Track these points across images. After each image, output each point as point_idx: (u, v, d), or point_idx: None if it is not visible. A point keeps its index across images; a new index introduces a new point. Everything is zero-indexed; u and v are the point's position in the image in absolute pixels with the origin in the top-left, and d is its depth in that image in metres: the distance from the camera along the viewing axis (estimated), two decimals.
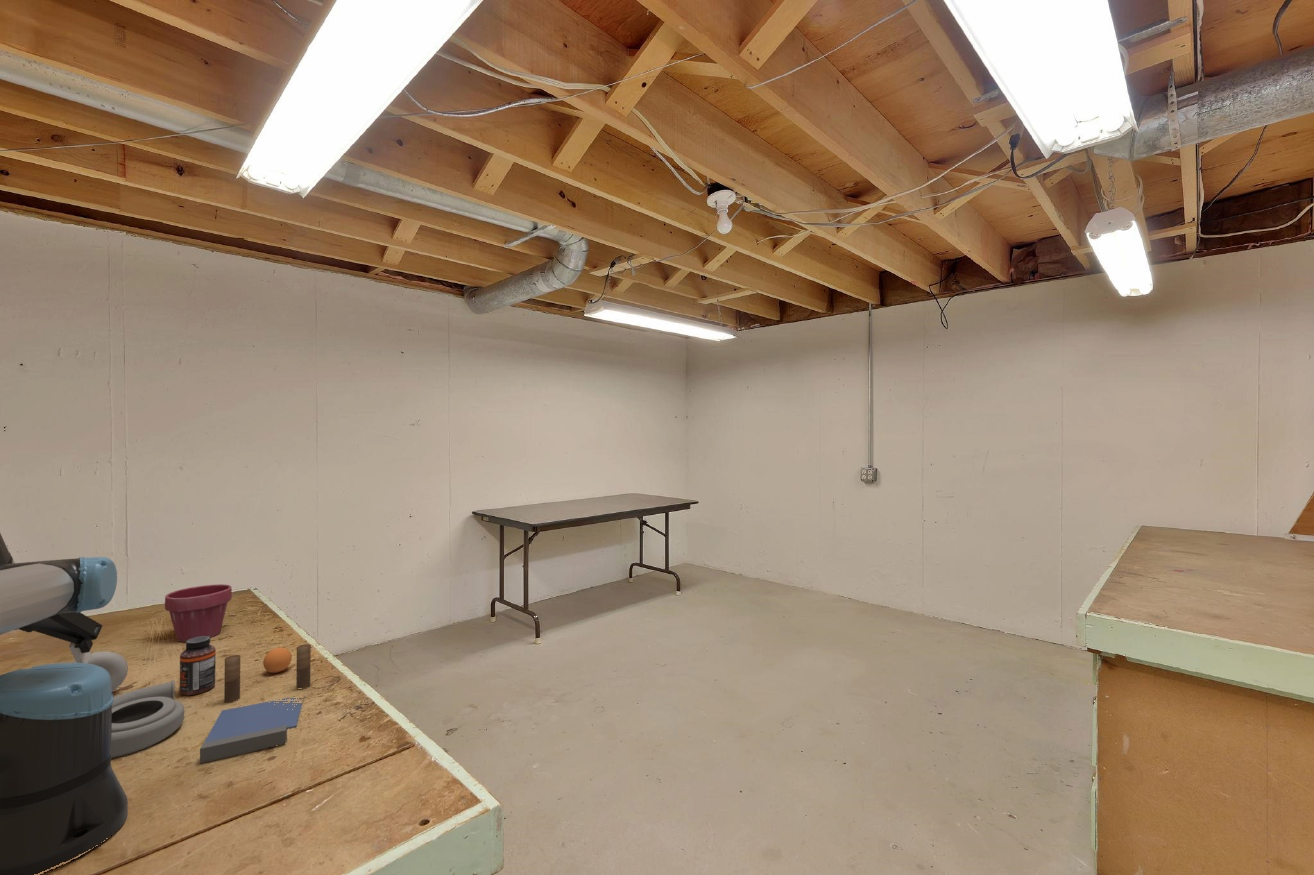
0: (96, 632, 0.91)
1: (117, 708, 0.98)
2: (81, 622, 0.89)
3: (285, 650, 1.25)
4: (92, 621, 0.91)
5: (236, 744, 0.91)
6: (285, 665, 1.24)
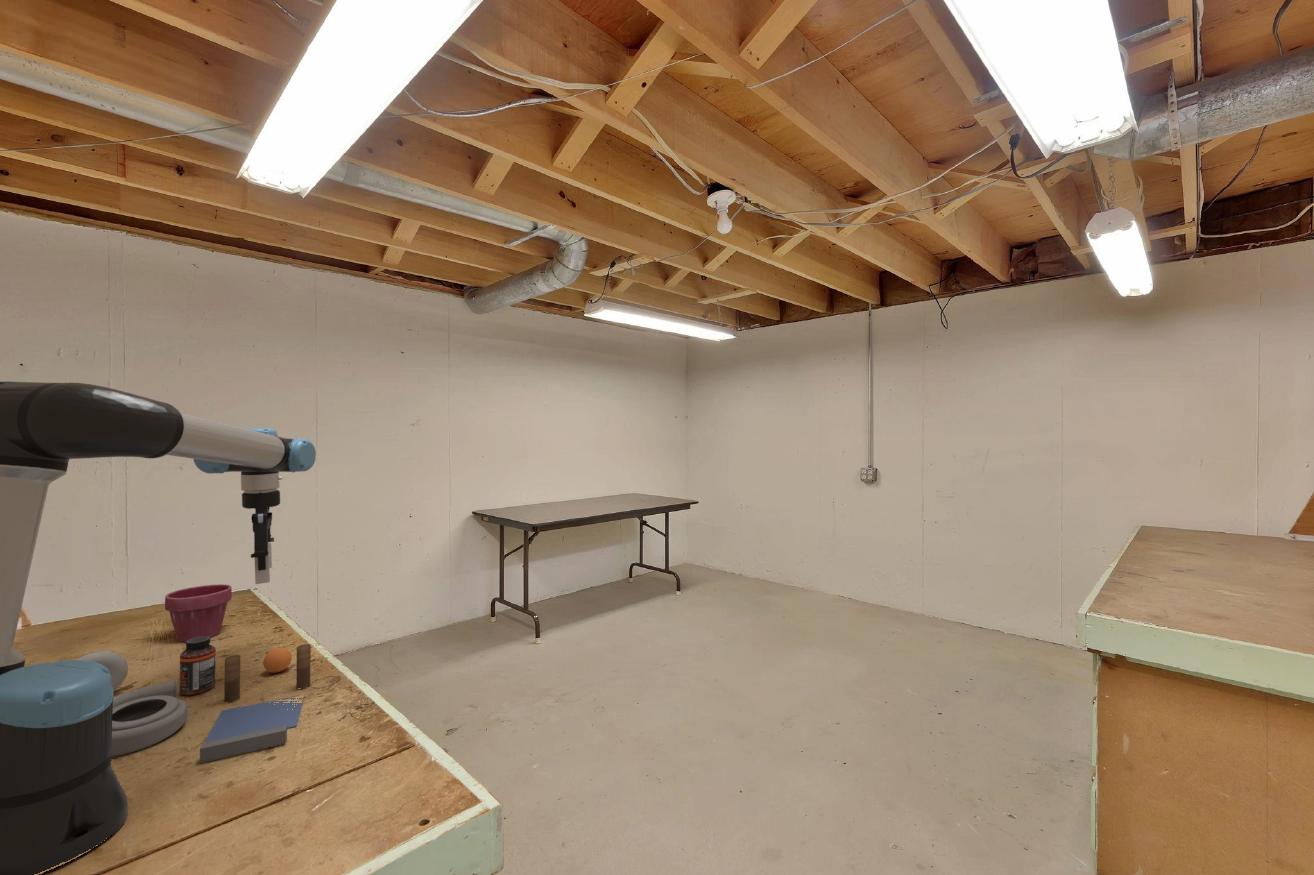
0: (258, 551, 1.21)
1: (120, 707, 0.98)
2: (259, 538, 1.22)
3: (285, 650, 1.25)
4: (265, 544, 1.22)
5: (236, 744, 0.91)
6: (285, 665, 1.24)
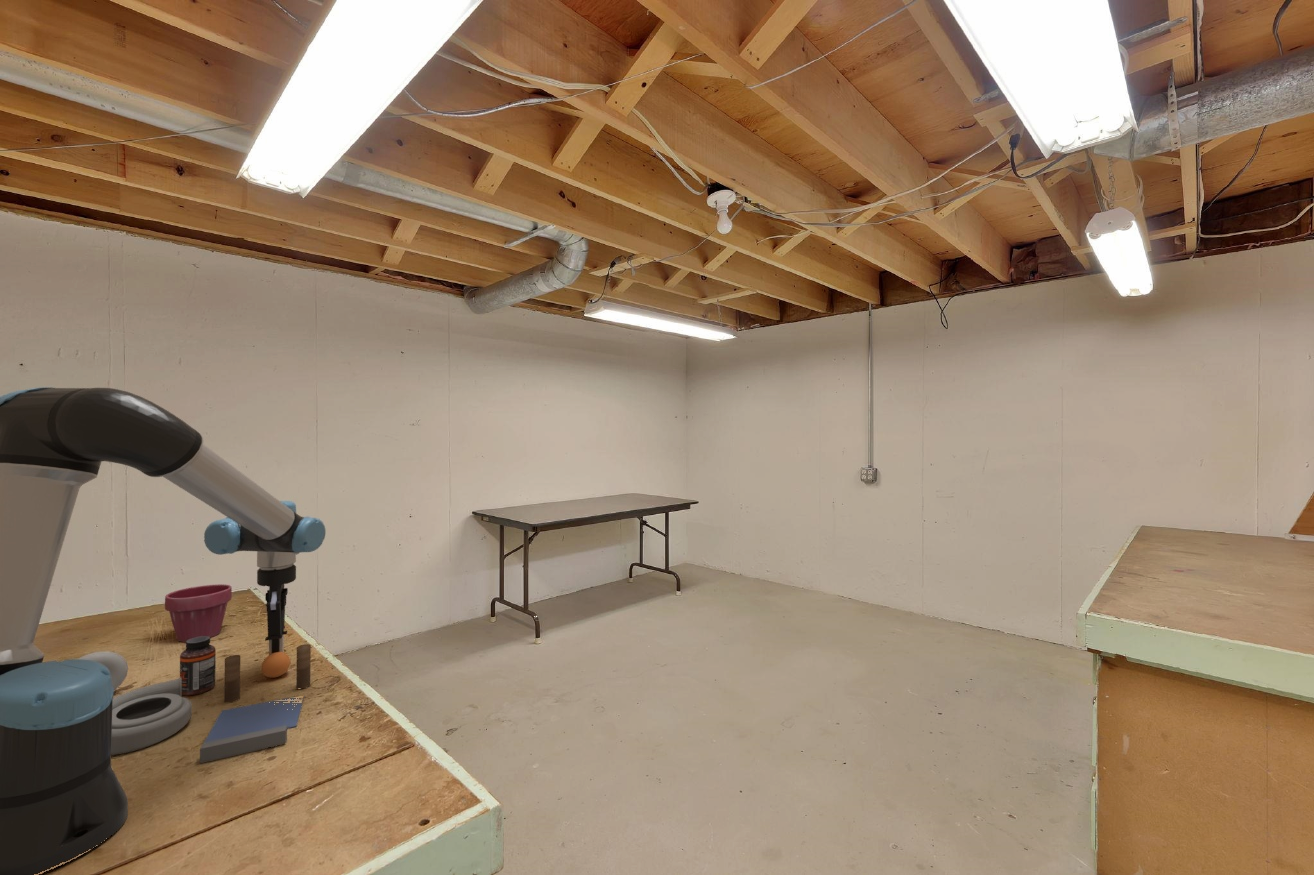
0: (271, 635, 1.21)
1: (125, 705, 0.99)
2: (272, 625, 1.21)
3: (283, 659, 1.21)
4: (278, 630, 1.22)
5: (236, 744, 0.91)
6: (284, 672, 1.22)
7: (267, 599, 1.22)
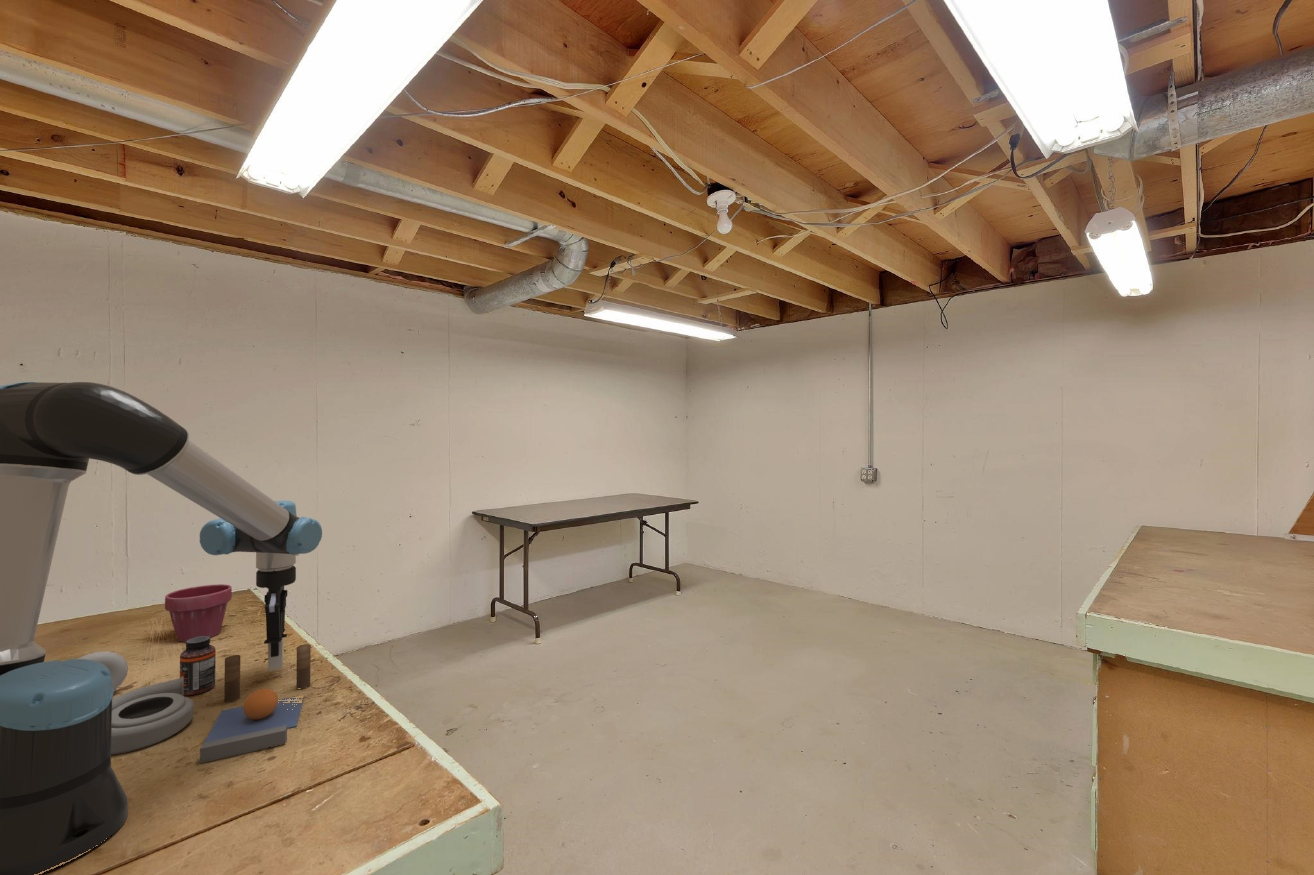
0: (270, 638, 1.19)
1: (128, 704, 0.99)
2: (271, 627, 1.18)
3: (268, 710, 1.03)
4: (277, 633, 1.19)
5: (236, 744, 0.91)
6: None
7: (266, 601, 1.20)
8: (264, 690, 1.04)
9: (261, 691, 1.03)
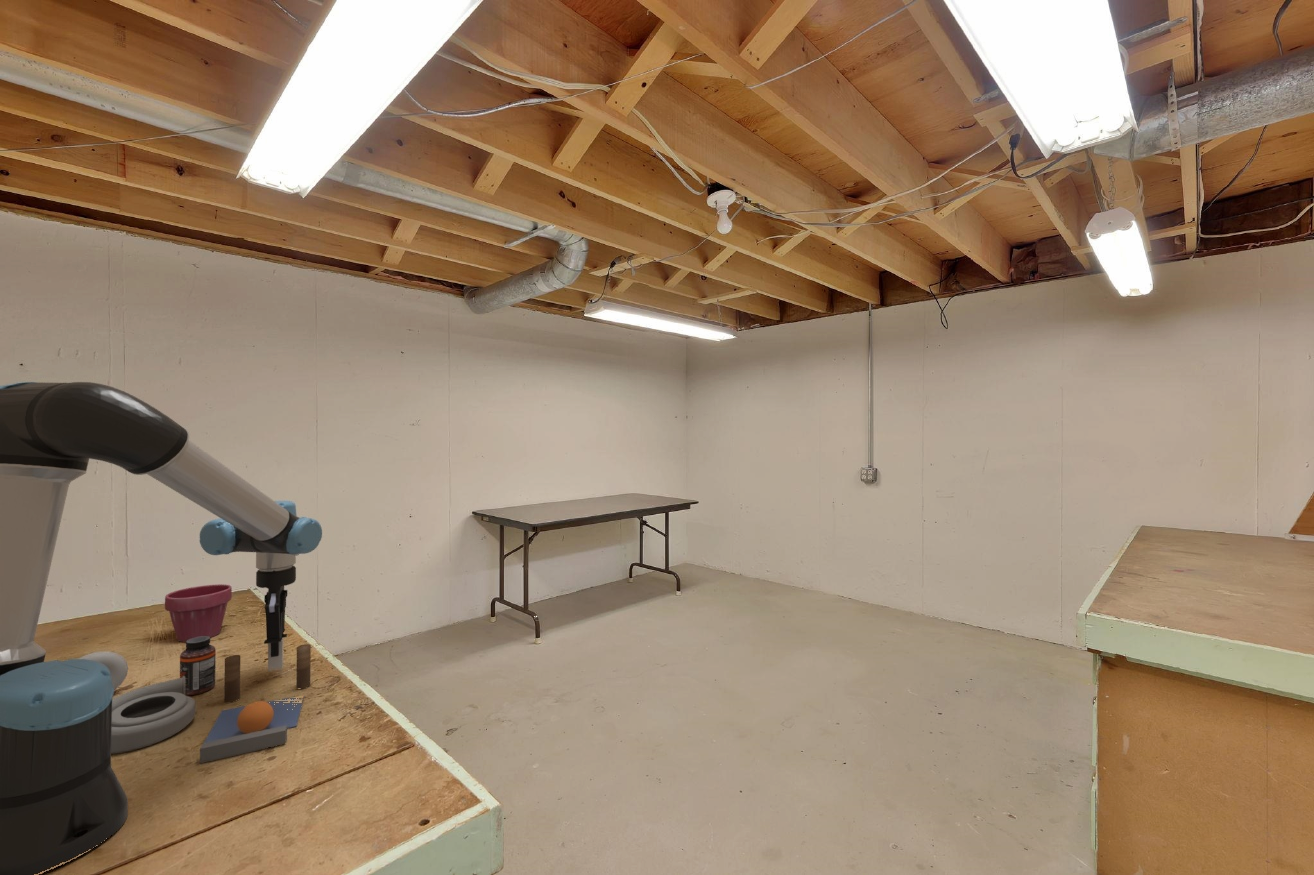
0: (270, 638, 1.19)
1: (130, 703, 1.00)
2: (271, 627, 1.18)
3: None
4: (277, 633, 1.19)
5: (236, 744, 0.91)
6: None
7: (266, 601, 1.20)
8: (257, 729, 0.97)
9: (254, 731, 0.97)
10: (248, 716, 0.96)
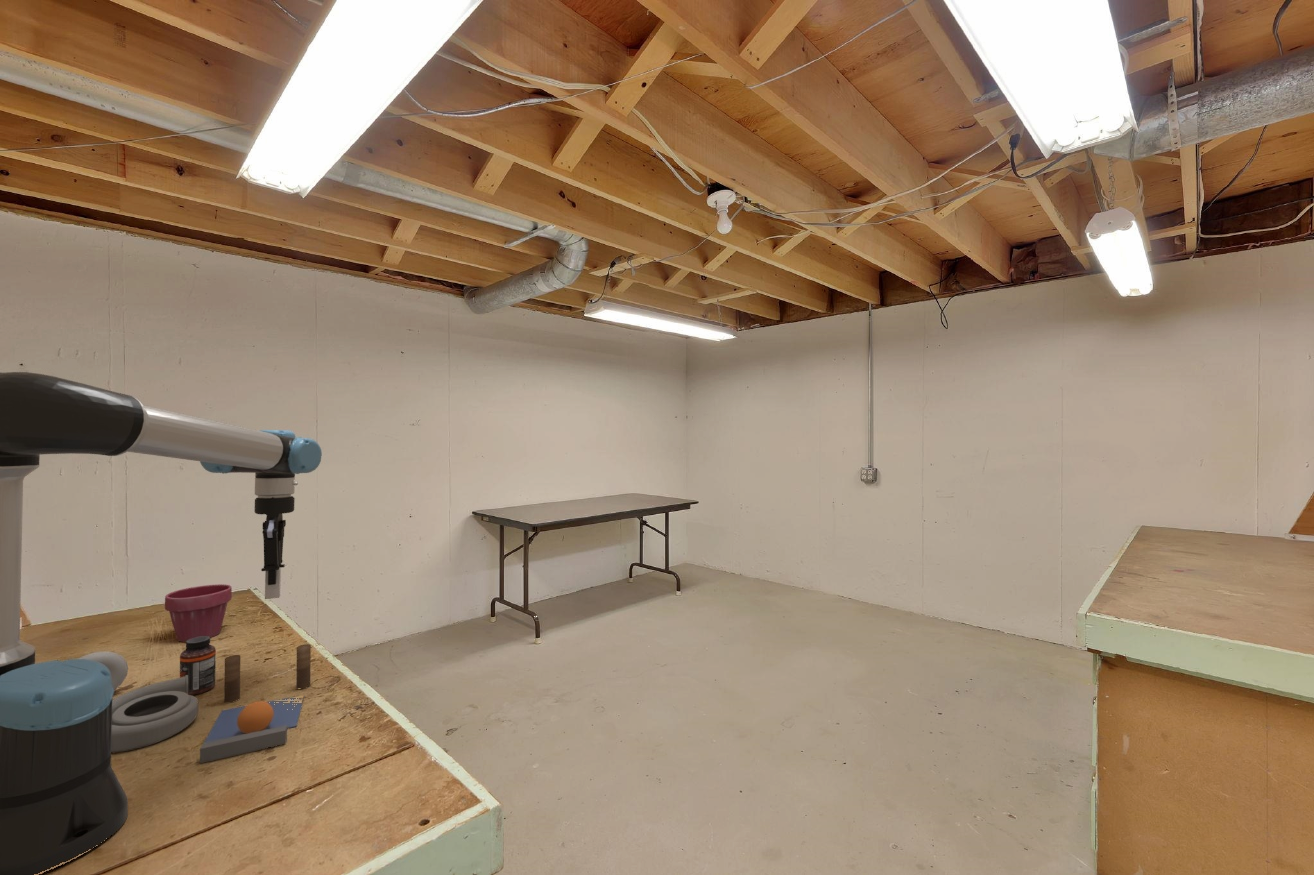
0: (268, 565, 1.18)
1: (133, 702, 1.00)
2: (268, 554, 1.18)
3: None
4: (275, 559, 1.18)
5: (236, 744, 0.91)
6: None
7: (264, 528, 1.19)
8: (257, 729, 0.97)
9: (254, 731, 0.97)
10: (248, 716, 0.96)
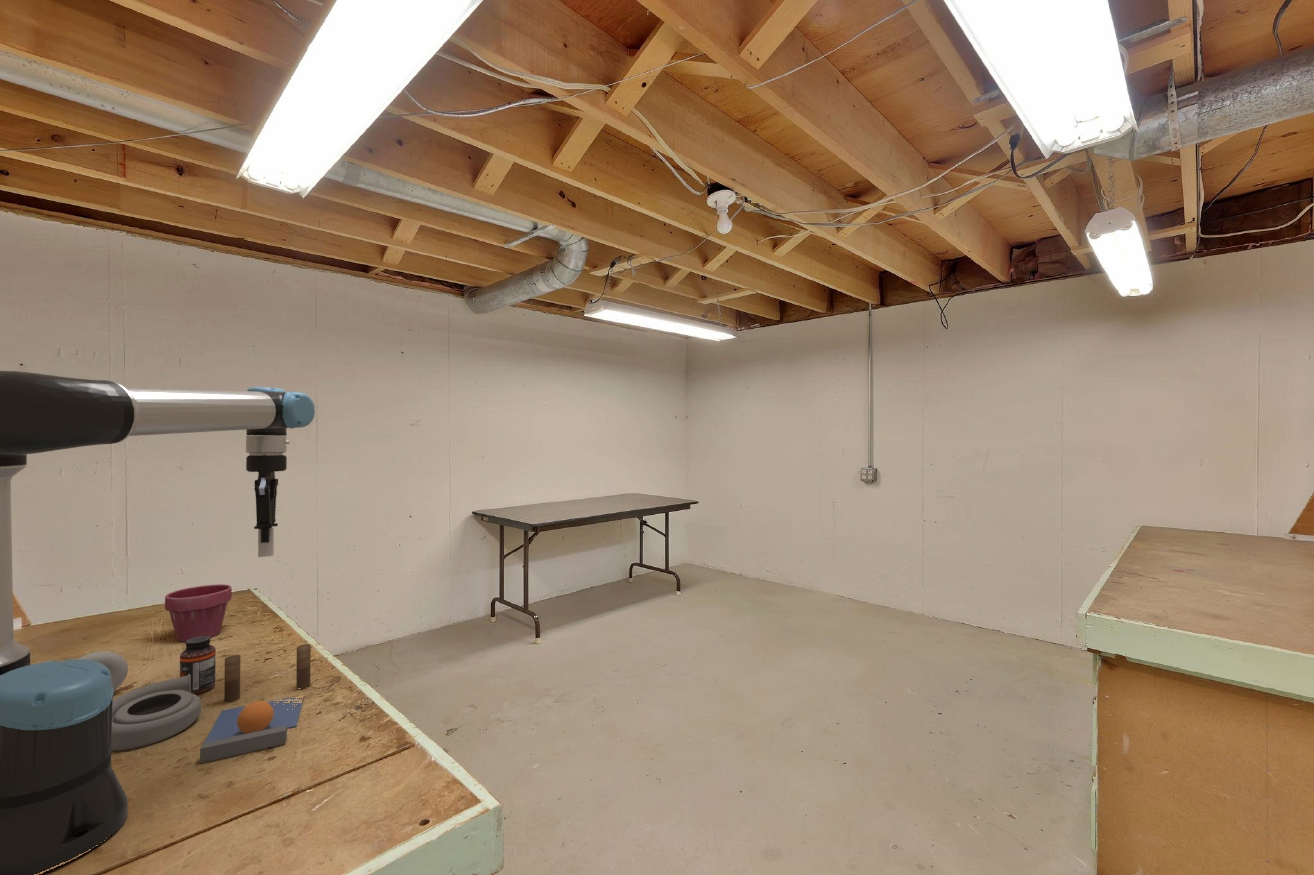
0: (260, 522, 1.18)
1: (136, 701, 1.01)
2: (261, 511, 1.17)
3: None
4: (268, 517, 1.18)
5: (236, 744, 0.91)
6: None
7: (256, 486, 1.19)
8: (257, 729, 0.97)
9: (254, 731, 0.97)
10: (248, 716, 0.96)
